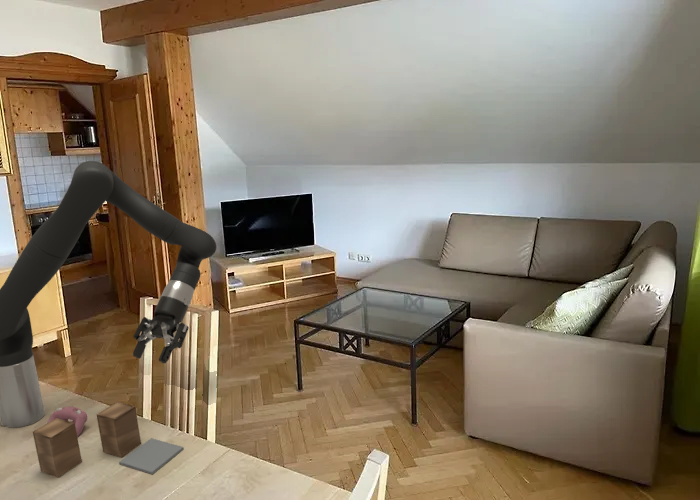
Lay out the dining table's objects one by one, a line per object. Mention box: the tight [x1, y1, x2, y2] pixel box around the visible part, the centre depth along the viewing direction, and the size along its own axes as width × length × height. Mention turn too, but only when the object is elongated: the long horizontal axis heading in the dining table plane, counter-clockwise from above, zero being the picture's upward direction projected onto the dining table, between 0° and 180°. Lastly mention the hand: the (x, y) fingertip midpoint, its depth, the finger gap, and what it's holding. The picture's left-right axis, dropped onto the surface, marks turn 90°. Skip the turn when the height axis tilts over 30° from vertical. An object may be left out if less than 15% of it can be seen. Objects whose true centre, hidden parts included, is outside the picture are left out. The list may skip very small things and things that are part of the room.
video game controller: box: [46, 406, 88, 438], centre depth 139 cm, size 10×5×7 cm, turn 75°
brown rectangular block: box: [96, 401, 142, 459], centre depth 130 cm, size 6×6×10 cm
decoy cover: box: [32, 418, 83, 478], centre depth 124 cm, size 6×6×10 cm
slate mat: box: [118, 437, 184, 476], centre depth 127 cm, size 10×10×1 cm
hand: (149, 359), depth 137 cm, fingers open, 8 cm apart
